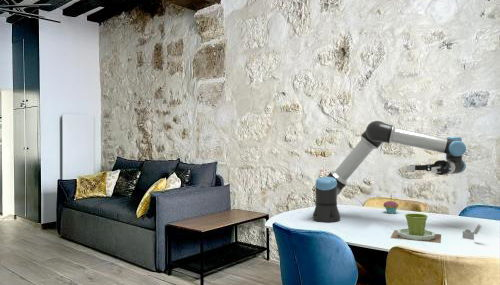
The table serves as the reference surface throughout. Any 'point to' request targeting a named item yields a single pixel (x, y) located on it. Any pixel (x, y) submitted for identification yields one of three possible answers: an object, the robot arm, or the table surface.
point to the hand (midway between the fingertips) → (418, 169)
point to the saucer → (427, 235)
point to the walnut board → (435, 240)
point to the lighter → (471, 233)
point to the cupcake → (391, 206)
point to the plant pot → (416, 223)
